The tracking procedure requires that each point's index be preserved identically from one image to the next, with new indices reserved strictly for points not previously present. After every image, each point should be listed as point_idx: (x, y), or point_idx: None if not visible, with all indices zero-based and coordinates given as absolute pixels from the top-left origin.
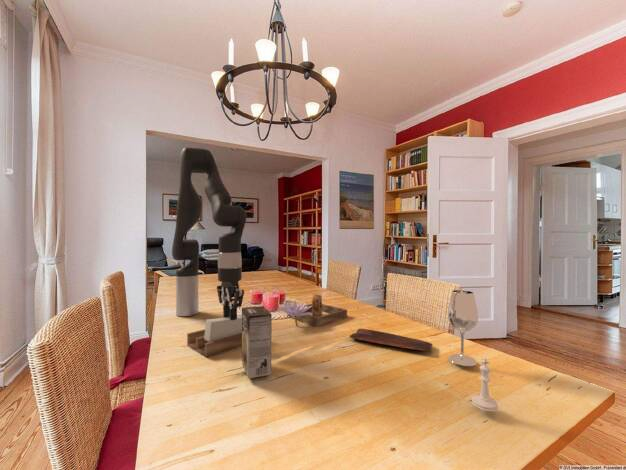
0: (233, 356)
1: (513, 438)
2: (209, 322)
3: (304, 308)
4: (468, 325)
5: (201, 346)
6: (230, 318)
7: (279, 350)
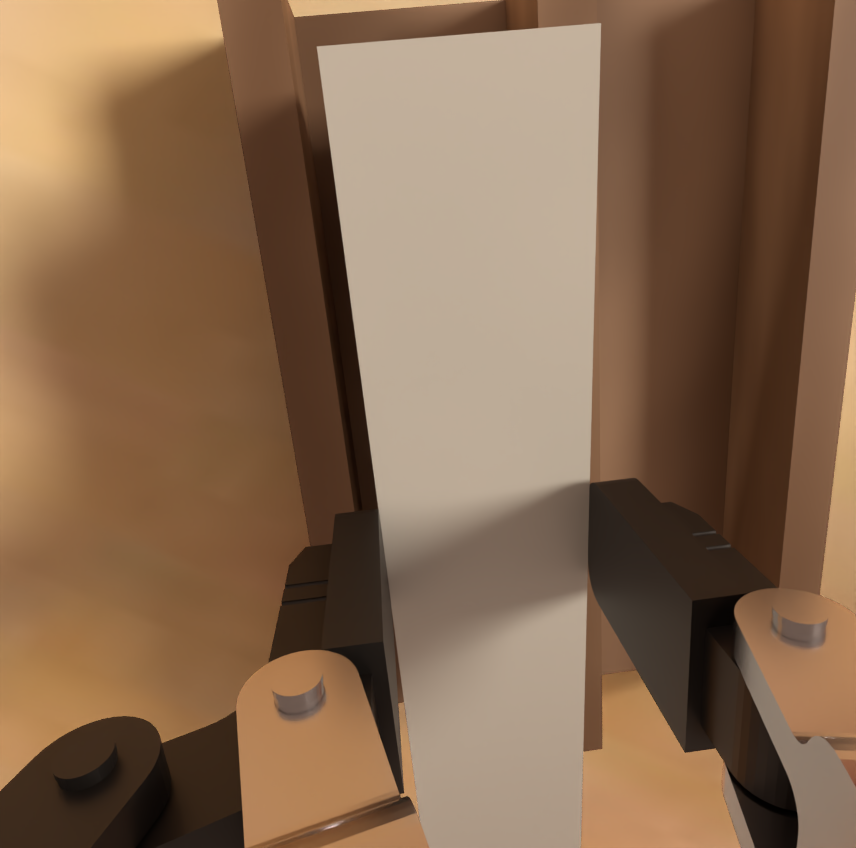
0: (117, 302)
1: None
2: (397, 45)
3: None
4: None
5: None
6: (347, 519)
7: (18, 701)
